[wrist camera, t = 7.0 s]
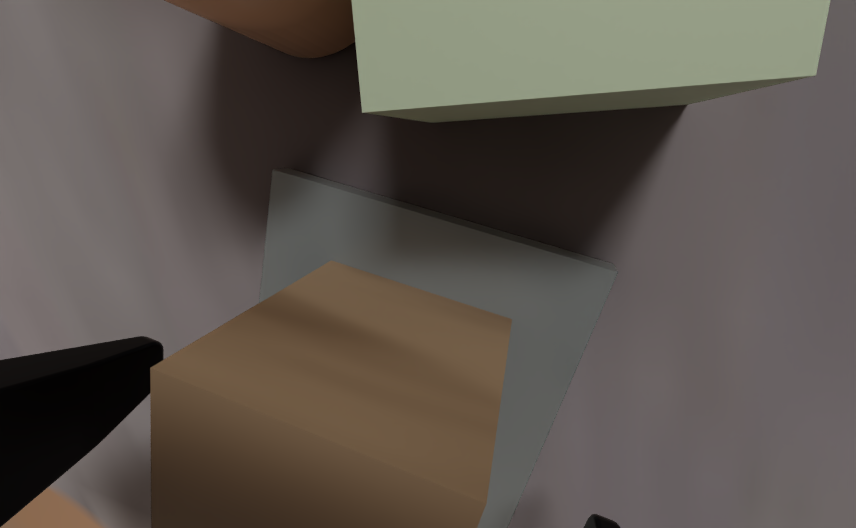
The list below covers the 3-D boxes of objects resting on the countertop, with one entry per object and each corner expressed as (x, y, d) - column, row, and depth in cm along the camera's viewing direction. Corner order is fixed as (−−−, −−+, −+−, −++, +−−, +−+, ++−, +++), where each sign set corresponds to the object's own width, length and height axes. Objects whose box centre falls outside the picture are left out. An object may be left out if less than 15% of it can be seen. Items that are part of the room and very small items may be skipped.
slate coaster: (612, 264, 9) (617, 271, 8) (504, 519, 12) (502, 538, 11) (286, 167, 10) (272, 169, 10) (258, 418, 13) (246, 431, 12)
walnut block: (461, 467, 11) (403, 717, 6) (307, 406, 11) (151, 590, 7) (512, 319, 9) (486, 503, 5) (331, 260, 10) (150, 367, 5)
